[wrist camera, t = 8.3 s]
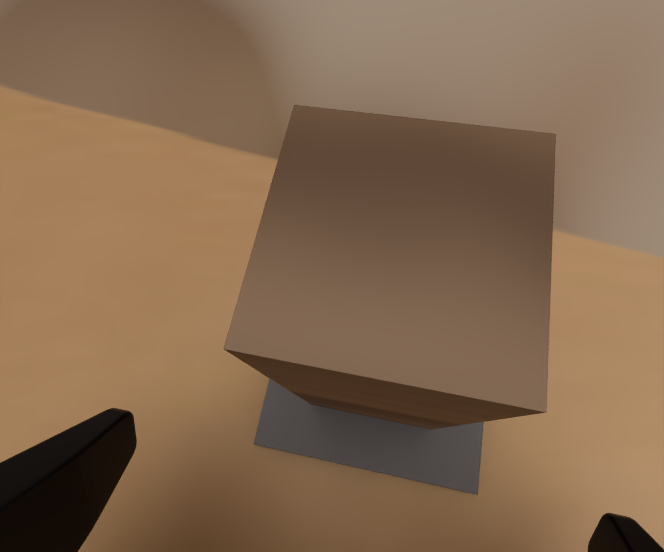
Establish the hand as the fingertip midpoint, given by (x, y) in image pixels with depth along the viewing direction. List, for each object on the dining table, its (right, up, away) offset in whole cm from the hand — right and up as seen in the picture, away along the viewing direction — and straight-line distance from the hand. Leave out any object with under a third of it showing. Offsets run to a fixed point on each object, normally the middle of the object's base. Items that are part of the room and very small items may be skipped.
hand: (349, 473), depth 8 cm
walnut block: (+2, 0, +10) cm, 11 cm away
